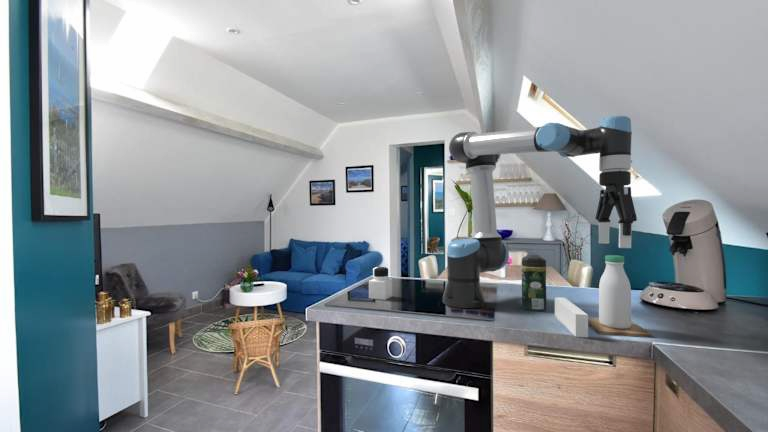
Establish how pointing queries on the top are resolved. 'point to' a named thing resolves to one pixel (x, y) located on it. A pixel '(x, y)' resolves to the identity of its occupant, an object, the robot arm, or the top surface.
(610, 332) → the walnut pad
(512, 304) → the top surface
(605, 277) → the milk bottle
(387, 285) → the medicine bottle
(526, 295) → the coffee jar
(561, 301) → the low wall
